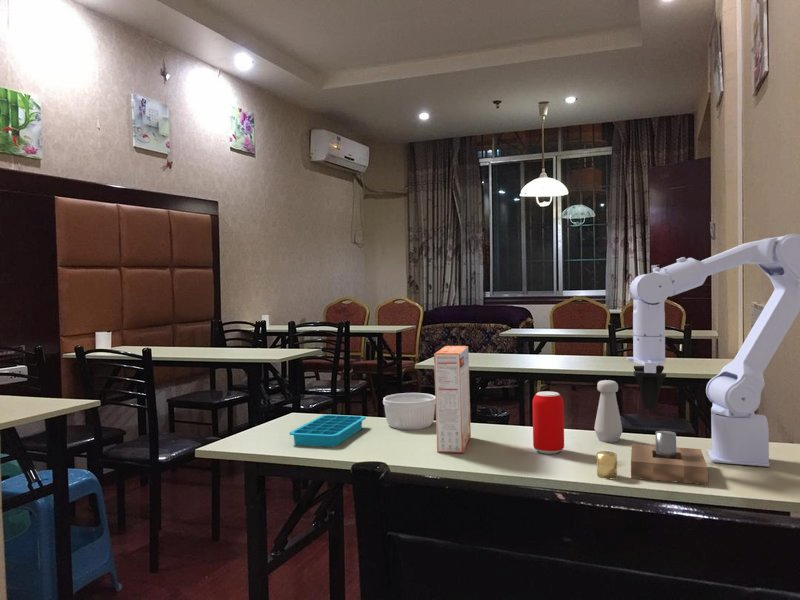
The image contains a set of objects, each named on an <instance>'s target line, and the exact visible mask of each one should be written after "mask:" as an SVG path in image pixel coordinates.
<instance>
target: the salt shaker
mask: <svg viewBox="0 0 800 600" xmlns="http://www.w3.org/2000/svg"><path fill="white" fill-rule="evenodd" d="M596 388H597V391H598V392H600V395H599V400H598V406H597V410H596V411H597V412H596V418H595V422H594V427H593V428H594V431H595V434H596V436H597V439H598V441H600V442H603V443H604V442H605V443H615V442H619V440H620V438H621V436H622V434H623V426H622V421H621V420H622V419H621V416H620V415H621V414H620V409H619V404H618V401H617V394H616V392H618V391H619V384H618V382H616V381H615V380H611V379H608V380H607V379H604V380H599V381H597V387H596Z"/></svg>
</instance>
